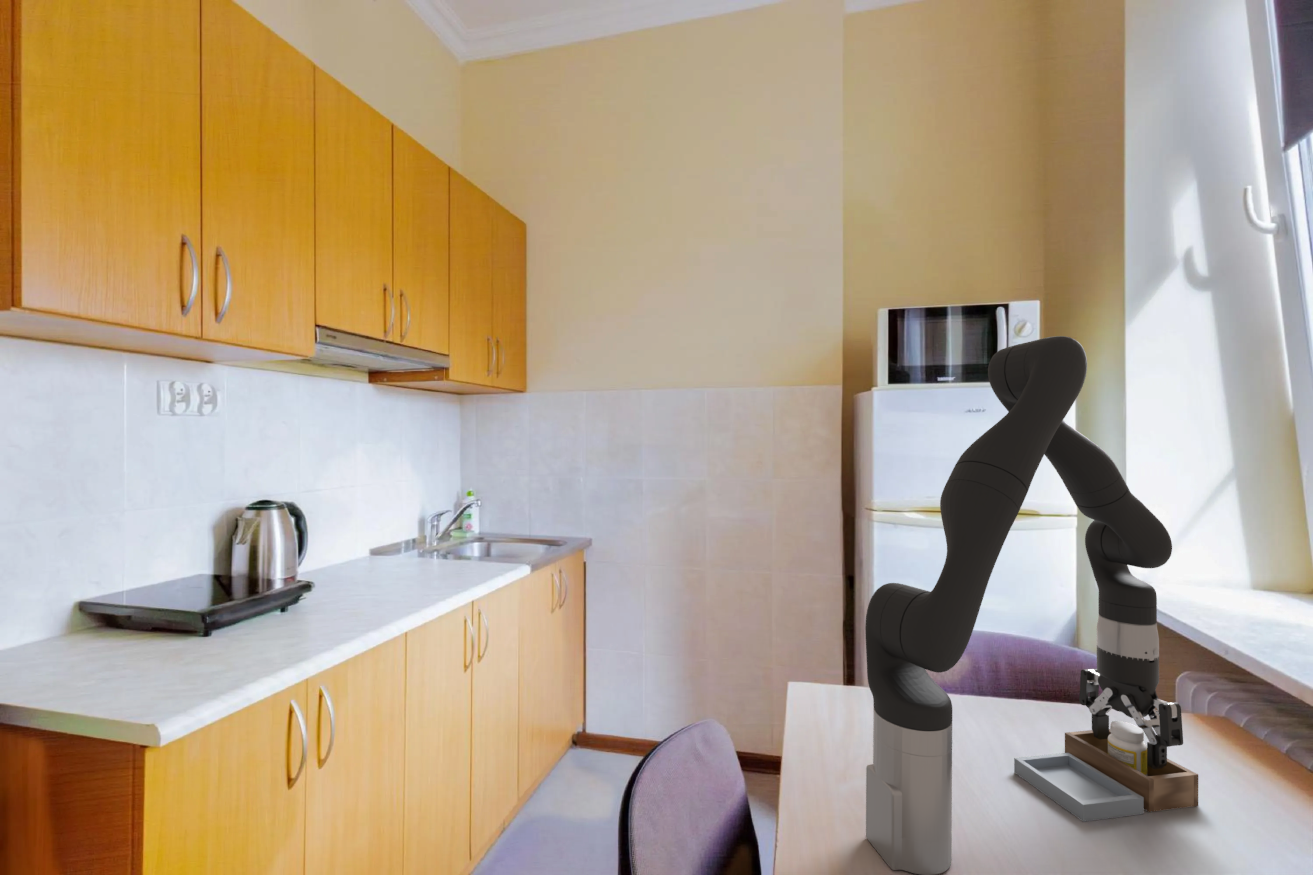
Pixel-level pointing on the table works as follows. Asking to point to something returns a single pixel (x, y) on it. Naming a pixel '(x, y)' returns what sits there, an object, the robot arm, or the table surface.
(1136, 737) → the supplement bottle
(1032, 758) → the tray
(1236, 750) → the table surface
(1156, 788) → the caddy
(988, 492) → the robot arm
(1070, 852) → the table surface
